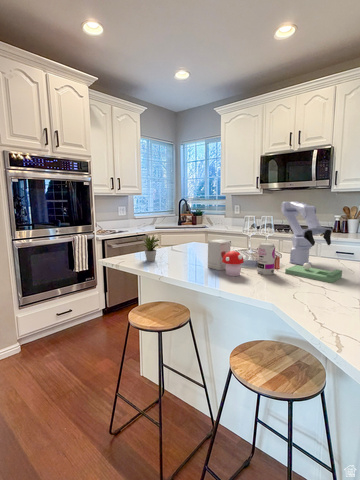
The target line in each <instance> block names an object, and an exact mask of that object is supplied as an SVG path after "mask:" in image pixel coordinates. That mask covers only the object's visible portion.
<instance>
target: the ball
mask: <svg viewBox="0 0 360 480" xmlns="http://www.w3.org/2000/svg"><path fill="white" fill-rule="evenodd" d="M302 266H303V268H304V269H305V270H309V269H310V268H312V265H311V264H309V263H305V264H304V265H302Z"/></svg>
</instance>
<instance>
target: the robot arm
mask: <svg viewBox="0 0 360 480" xmlns="http://www.w3.org/2000/svg"><path fill="white" fill-rule="evenodd" d="M280 210H281V213H282V215H283V216H284V217H285V218H286V219H285V220H286V221H287V223H288V225H289V227H290V229H291V231H292V233H293V235H292V238H291V242H292V248H291V249H290V257H289V263H290V264H294V265H299V266H303V265H304V264H305V263H309V264H310V265H311V264H312V262H311V261H309V260H310V259H309V258H310V249H312V247H313V246H315V245H316V241H315V238H314V236H317V235H321V234H323V237H322V238H323V239H324V240H325V243H326V244H327V246H331V244H332V241H331V235H332V233H333V229H332V228H328V227H325V226H321V222H320V221H319V219H318V216H317V207H316V206H315V205H309V204H307V203H306V202H303V201H302V202H300V201H282V203H281V204H280ZM299 214H300V216H301V217H302V218H303V220H304V221H305V223H306V225H307V228H302V226H301V224H300V222H299V221H298V219H297V216H298V217H299Z"/></svg>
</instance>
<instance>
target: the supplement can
mask: <svg viewBox="0 0 360 480" xmlns="http://www.w3.org/2000/svg"><path fill="white" fill-rule="evenodd" d="M275 255H276V246H275V243H272V242H260V243H259V244H258V246H257V263H256V267H257V268H256V272H257V273H258V274H259V275H264V276H270V275H273V274H274V273H275V261H276V259H275V258H276V256H275Z"/></svg>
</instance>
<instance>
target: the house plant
mask: <svg viewBox="0 0 360 480" xmlns="http://www.w3.org/2000/svg"><path fill="white" fill-rule="evenodd" d="M155 238H156V239H155ZM161 238H162V237H156V235H155V234H153V235H152V237H151V236H150V234H148V236H144V238H142V241H144V243H145V244H143V243H141V244H140V246H144V247H146V249H145V250H144V253H145V259H146V261H147V262H155V261H156V255H157V249H155V248H156V247H157V246H158V247H160V244H159V242H158V241H160V240H161ZM156 242H158V243H156ZM154 260H155V261H154Z"/></svg>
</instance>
